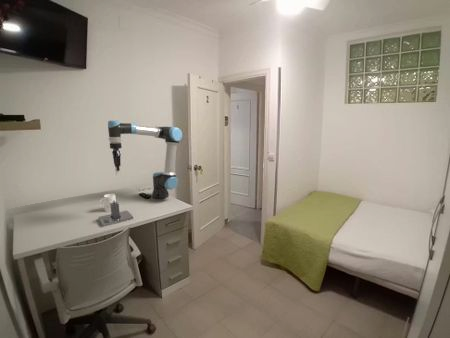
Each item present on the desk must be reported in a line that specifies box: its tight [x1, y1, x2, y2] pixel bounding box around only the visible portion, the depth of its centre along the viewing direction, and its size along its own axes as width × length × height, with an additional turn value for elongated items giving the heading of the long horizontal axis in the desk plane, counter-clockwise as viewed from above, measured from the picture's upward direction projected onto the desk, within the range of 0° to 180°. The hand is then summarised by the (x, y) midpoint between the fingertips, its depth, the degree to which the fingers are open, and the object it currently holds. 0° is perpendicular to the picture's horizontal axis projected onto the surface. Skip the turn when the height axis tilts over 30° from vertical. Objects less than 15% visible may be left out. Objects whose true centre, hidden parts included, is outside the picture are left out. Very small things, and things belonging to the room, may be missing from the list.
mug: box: [99, 193, 117, 213], centre depth 180 cm, size 12×8×12 cm
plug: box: [110, 201, 120, 219], centre depth 164 cm, size 4×4×14 cm
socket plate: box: [97, 210, 134, 228], centre depth 165 cm, size 20×14×3 cm
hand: (118, 174), depth 168 cm, fingers closed
